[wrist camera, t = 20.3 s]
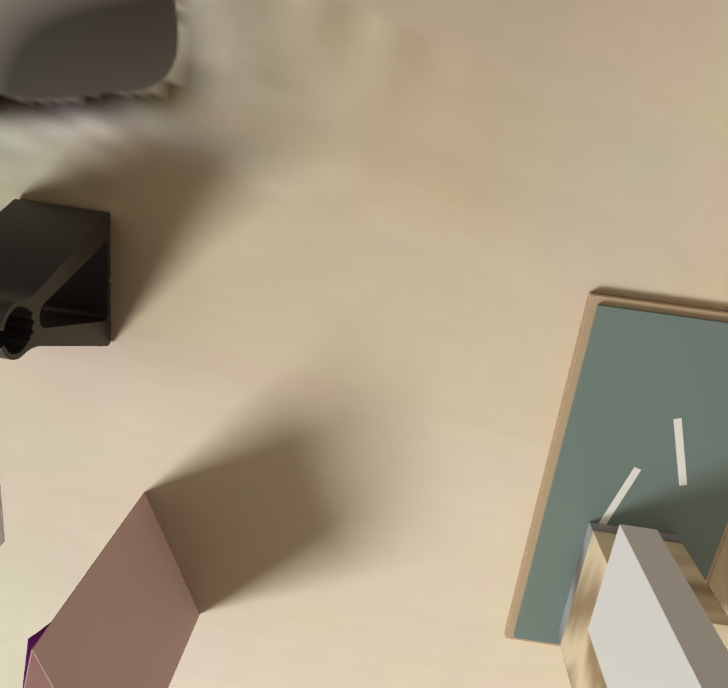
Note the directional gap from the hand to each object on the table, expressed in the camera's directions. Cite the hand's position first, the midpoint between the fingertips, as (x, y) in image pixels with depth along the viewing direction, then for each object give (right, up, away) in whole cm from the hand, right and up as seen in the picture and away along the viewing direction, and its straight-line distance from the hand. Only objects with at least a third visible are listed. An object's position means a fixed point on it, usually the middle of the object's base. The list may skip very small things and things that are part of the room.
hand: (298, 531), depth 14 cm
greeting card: (-14, -13, +36) cm, 41 cm away
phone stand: (-18, +9, +29) cm, 35 cm away
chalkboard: (+20, -6, +31) cm, 38 cm away
